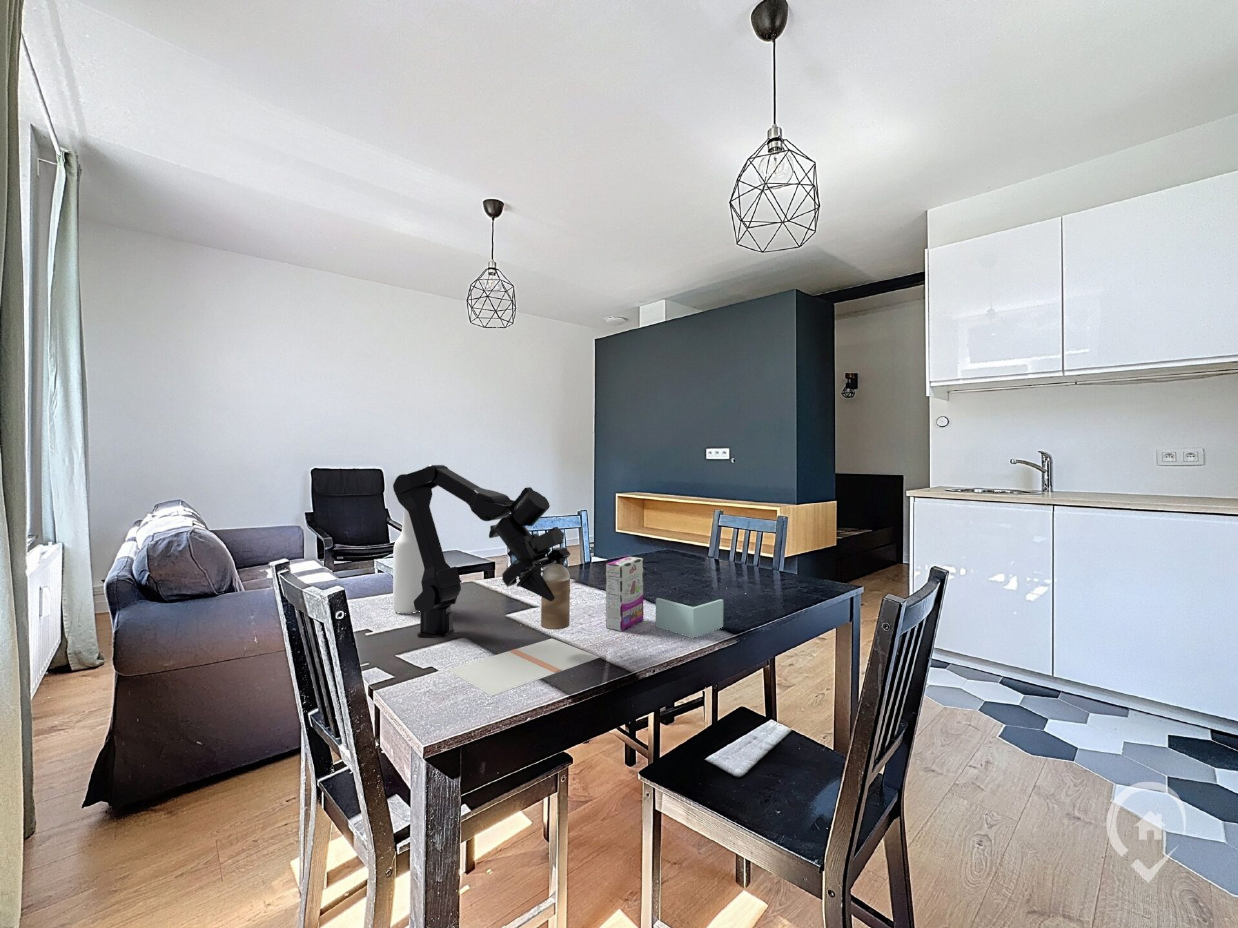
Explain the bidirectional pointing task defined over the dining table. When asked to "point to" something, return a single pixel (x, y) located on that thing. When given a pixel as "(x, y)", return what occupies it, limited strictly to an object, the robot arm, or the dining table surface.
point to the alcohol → (406, 569)
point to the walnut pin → (556, 598)
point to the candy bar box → (624, 593)
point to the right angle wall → (689, 617)
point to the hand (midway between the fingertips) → (561, 596)
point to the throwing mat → (521, 666)
